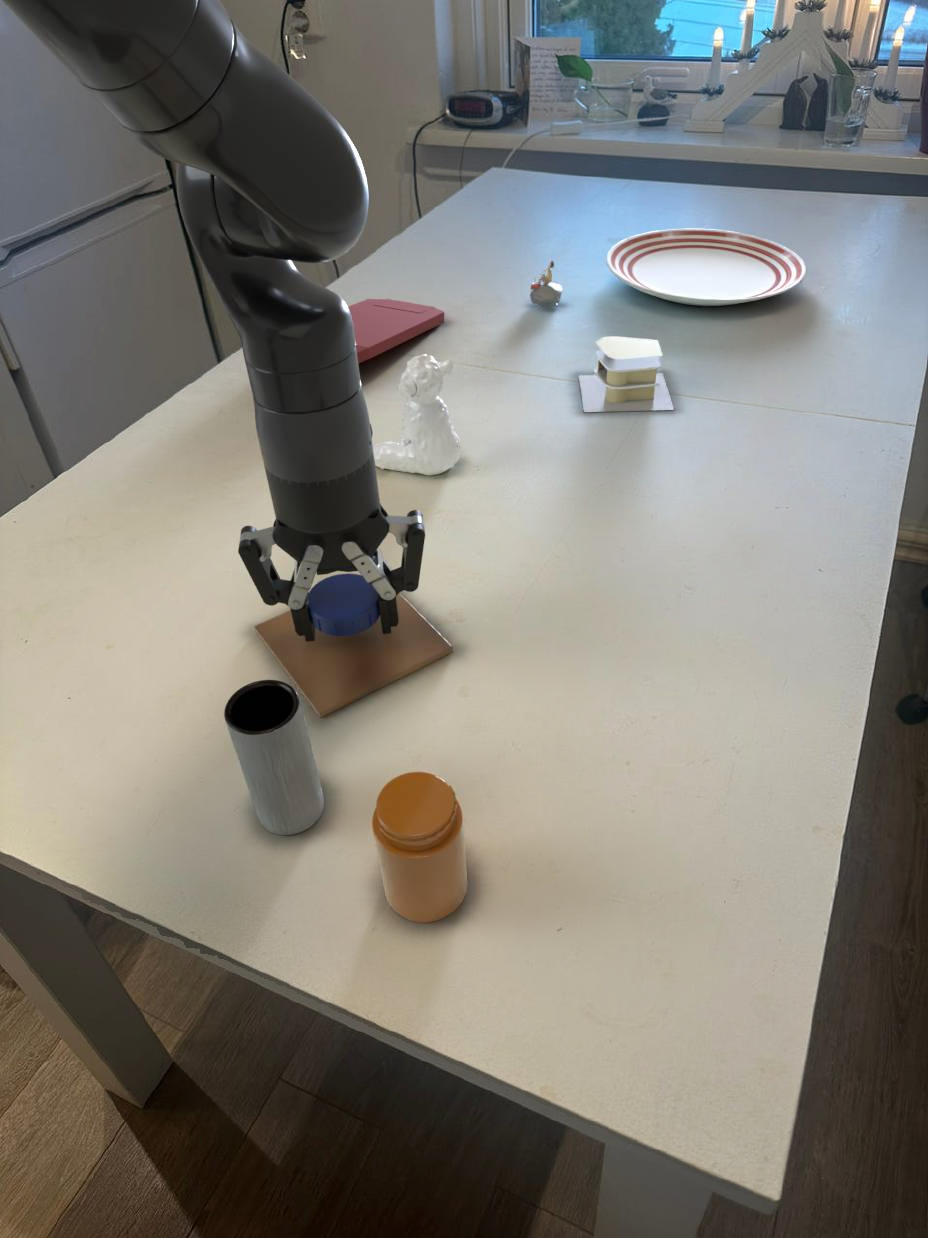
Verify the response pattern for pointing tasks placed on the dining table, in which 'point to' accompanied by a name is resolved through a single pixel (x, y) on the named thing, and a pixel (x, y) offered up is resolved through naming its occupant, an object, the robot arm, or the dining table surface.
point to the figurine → (546, 290)
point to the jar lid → (343, 605)
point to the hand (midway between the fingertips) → (349, 630)
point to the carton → (389, 324)
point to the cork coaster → (352, 656)
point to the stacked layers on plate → (626, 377)
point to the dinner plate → (705, 266)
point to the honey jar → (420, 846)
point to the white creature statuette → (422, 423)
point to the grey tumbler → (275, 755)
